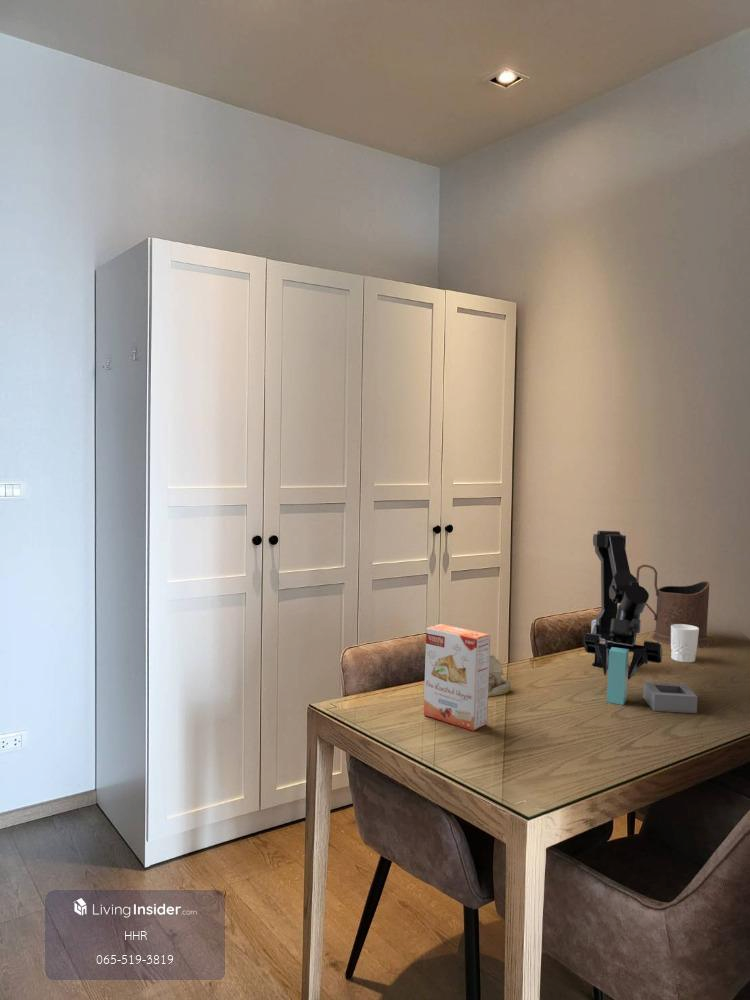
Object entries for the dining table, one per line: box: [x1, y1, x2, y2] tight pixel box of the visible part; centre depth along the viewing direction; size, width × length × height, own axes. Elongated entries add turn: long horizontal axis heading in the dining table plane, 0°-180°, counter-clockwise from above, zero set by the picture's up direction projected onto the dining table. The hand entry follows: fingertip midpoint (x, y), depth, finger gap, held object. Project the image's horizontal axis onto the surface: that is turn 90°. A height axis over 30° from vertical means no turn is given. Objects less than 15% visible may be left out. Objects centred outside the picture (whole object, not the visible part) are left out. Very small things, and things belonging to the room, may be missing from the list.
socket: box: [642, 681, 698, 714], centre depth 189 cm, size 10×10×4 cm
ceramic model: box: [488, 653, 511, 697], centre depth 197 cm, size 14×11×10 cm
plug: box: [606, 647, 630, 706], centre depth 191 cm, size 4×4×13 cm
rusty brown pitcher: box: [635, 564, 711, 649], centre depth 255 cm, size 18×24×25 cm
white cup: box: [670, 624, 699, 663], centre depth 232 cm, size 8×8×10 cm
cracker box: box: [423, 623, 491, 732], centre depth 174 cm, size 14×6×21 cm, turn 49°
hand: (616, 676), depth 189 cm, fingers open, 5 cm apart
